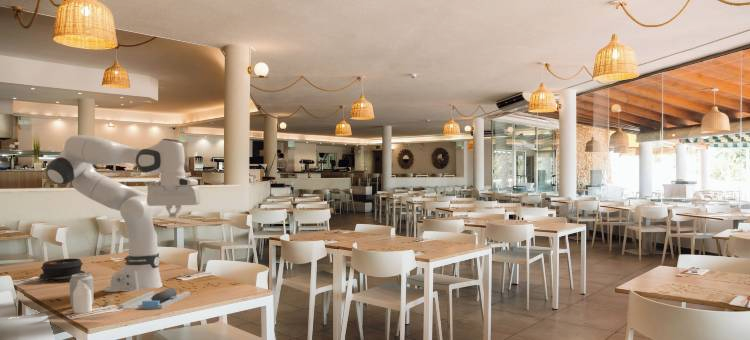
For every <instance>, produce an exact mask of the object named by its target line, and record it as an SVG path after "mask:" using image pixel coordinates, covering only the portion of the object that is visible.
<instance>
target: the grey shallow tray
mask: <svg viewBox="0 0 750 340" xmlns="http://www.w3.org/2000/svg"><path fill="white" fill-rule="evenodd" d="M155 294H156V292H155V291H149V292H146V293H144V294H142V295H139V296H137V297H135V298H132V299H130V300H127V301H124V302H123V303H120V304H119V305H118V306H119V307H118V308H119V309H144V310H145V309H147V310H148V309H150V310H151V309H154V310H155V309H156V310H158V309H161V310H162V309H164V308H167V307H168V306H170V305H173V304H174V303H176V302H178V301H180V300H182V299H185V298H186V297H189V296H190V295H191V292H190V291H188V290H187V291H184V292H182V293H180V294H177V295H176V296H172V297H170V299H169V300H167V301H165V302H163V303H161V304H160V301H152V297H153V295H155Z"/></svg>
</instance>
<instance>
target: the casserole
mask: <svg viewBox="0 0 750 340" xmlns="http://www.w3.org/2000/svg"><path fill="white" fill-rule="evenodd" d="M83 264H84V263H83V262H82V260H81V259H80V258H62V259H61V258H60V259H55V260H49V261H44V262H43V263H42V266H41V267H40V269H41V270H42V272H43V273H40V274H39V277H38V279H41V280H47V281H49V280H53V281H52V282H59V281H58V280H63V281H68V280H67V279H69V280H70V279H71V278H72V275H74V274H80V273H86V272H85V271H84V270H82V266H83Z"/></svg>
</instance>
